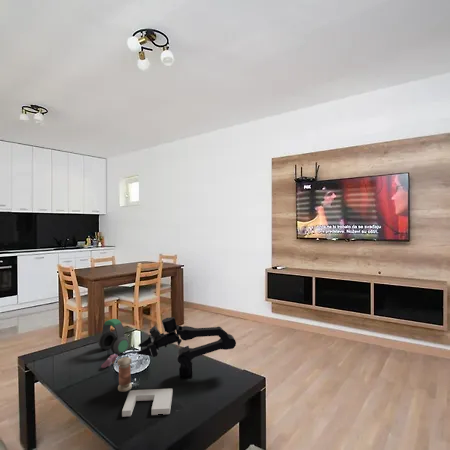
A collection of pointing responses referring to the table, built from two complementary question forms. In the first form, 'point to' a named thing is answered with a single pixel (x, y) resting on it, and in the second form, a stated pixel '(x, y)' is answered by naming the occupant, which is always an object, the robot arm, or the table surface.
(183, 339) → the robot arm
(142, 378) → the table surface
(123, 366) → the bobbin
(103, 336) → the headphones
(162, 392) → the notched board
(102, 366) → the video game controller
